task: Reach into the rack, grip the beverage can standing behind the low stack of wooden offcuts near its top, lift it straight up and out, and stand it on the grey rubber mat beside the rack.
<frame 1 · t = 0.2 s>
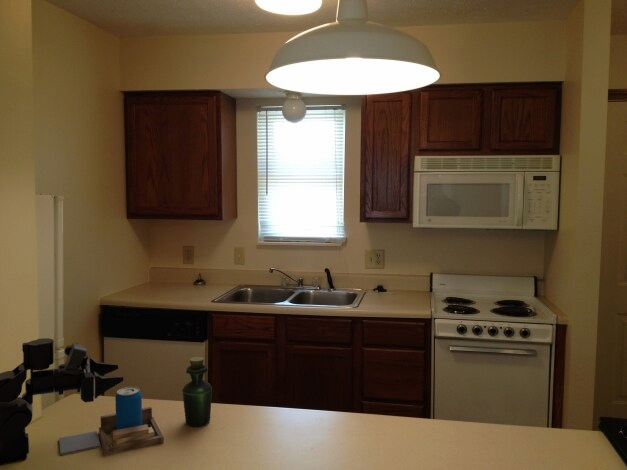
hand: (120, 372, 135), 17 cm above the counter, tool horizontal, fingers open, 9 cm apart
rubber mat: (79, 443, 132), on the counter
potion bottle: (197, 422, 144), on the counter
beverage can: (129, 435, 137), resting in rack
offcut stack: (133, 443, 132), resting in rack
rack: (129, 434, 137), on the counter
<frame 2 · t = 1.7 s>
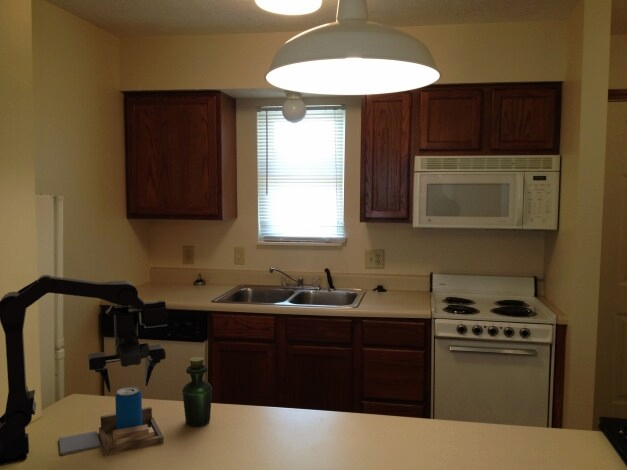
hand: (128, 388, 136), 12 cm above the counter, tool pointing down, fingers open, 9 cm apart
nothing on the counter moved.
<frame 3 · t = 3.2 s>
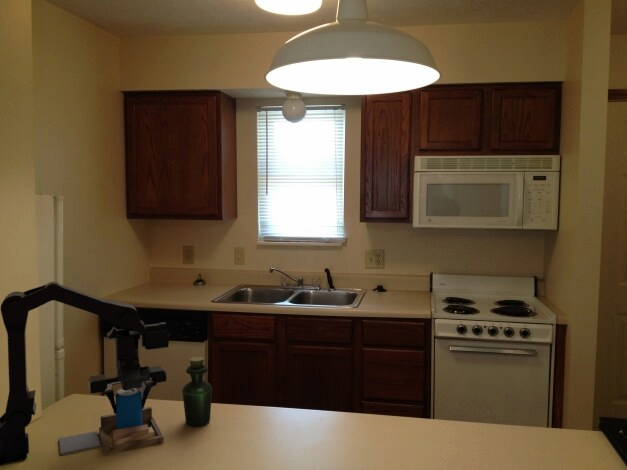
hand: (128, 410, 136), 7 cm above the counter, tool pointing down, fingers closed on beverage can, 6 cm apart
beverage can: (129, 435, 137), resting in rack, touching gripper
everything else where it was.
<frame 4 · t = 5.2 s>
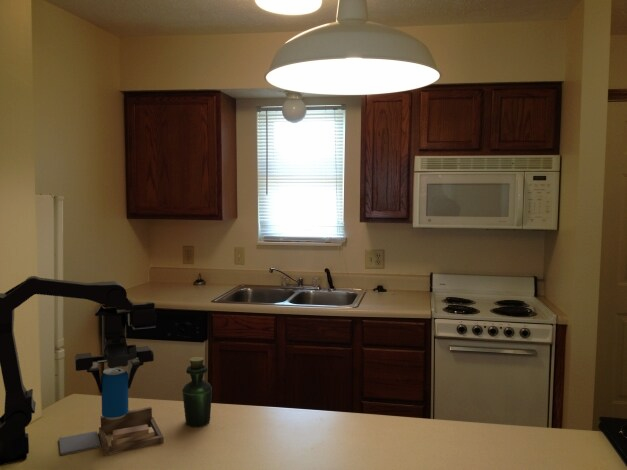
hand: (114, 390, 134), 13 cm above the counter, tool pointing down, fingers closed on beverage can, 6 cm apart
beverage can: (115, 416, 135), point 6 cm above the counter, touching gripper
everything else where it was.
when the fingers open (8 cm above the counter, at t = 7.5 s): beverage can stays where it is, resting on rubber mat.
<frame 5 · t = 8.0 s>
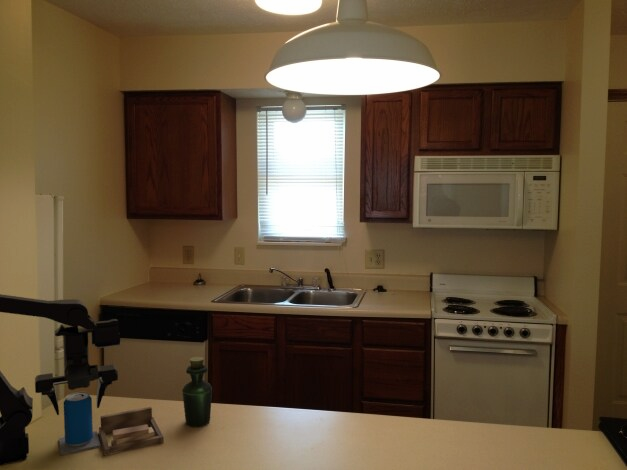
hand: (78, 411, 131), 8 cm above the counter, tool pointing down, fingers open, 9 cm apart
beverage can: (79, 442, 132), resting on rubber mat
everything else where it was.
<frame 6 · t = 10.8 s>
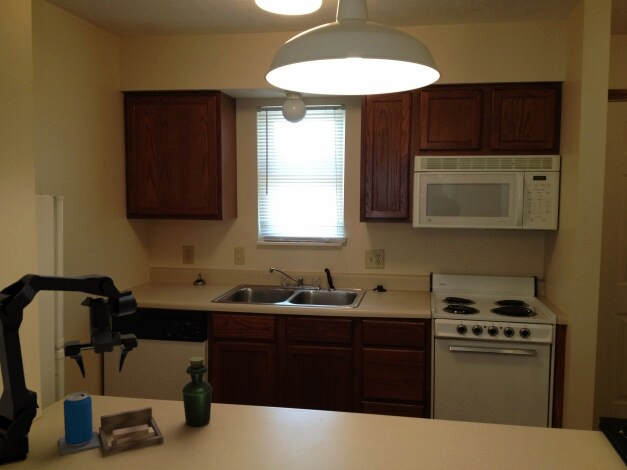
hand: (102, 374, 145), 13 cm above the counter, tool pointing down, fingers open, 9 cm apart
nothing on the counter moved.
at the end: beverage can inside the target area (0.1 cm from its centre), resting on rubber mat; beverage can tilted 0°; the gripper is holding nothing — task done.
